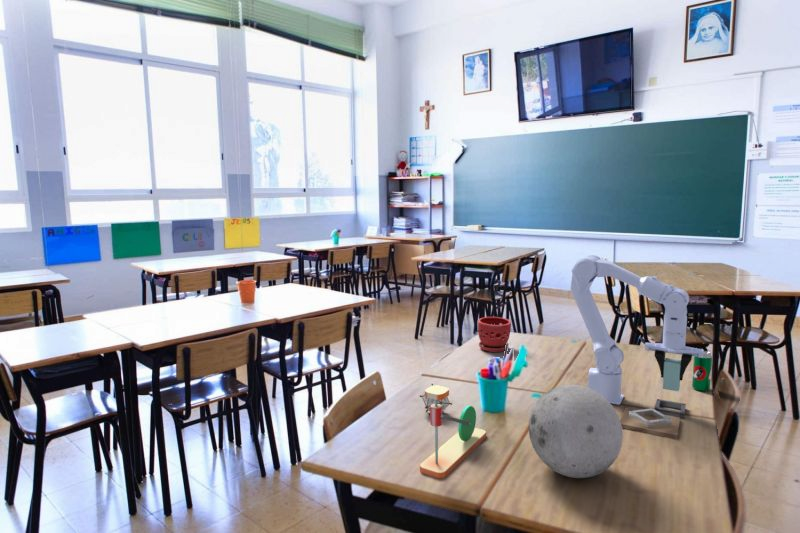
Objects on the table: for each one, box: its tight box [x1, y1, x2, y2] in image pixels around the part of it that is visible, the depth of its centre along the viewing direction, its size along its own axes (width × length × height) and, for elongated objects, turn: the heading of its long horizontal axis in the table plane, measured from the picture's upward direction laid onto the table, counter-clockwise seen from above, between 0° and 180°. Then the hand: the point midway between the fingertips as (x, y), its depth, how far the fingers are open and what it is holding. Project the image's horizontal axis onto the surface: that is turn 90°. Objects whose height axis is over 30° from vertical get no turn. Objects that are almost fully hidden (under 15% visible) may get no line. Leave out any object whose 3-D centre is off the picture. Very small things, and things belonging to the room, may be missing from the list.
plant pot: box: [477, 316, 512, 353], centre depth 211 cm, size 13×13×12 cm
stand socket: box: [653, 398, 686, 419], centre depth 150 cm, size 8×8×2 cm
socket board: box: [619, 407, 681, 440], centre depth 142 cm, size 14×12×2 cm
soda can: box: [691, 350, 713, 392], centre depth 165 cm, size 5×5×12 cm
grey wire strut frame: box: [419, 383, 453, 413], centre depth 151 cm, size 9×8×10 cm
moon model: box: [528, 384, 624, 479], centre depth 118 cm, size 20×20×20 cm
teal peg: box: [662, 357, 681, 392], centre depth 149 cm, size 4×4×8 cm
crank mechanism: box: [419, 384, 487, 479], centre depth 128 cm, size 25×7×19 cm, turn 147°
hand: (671, 378), depth 149 cm, fingers closed on teal peg, 4 cm apart
